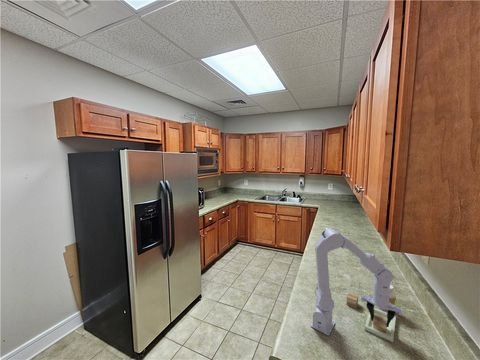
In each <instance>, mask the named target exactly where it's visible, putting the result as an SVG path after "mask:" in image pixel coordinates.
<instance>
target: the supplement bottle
mask: <svg viewBox="0 0 480 360" xmlns="http://www.w3.org/2000/svg"><path fill="white" fill-rule="evenodd" d="M396 296H397V295H396V293H395V291H394V286H393V285H392V284H390V293H389V303H391V304H393V305H395V306H396V299H397V297H396ZM378 310H381V311H383V312H386V313H387V312H388V310H386V309H382V308H379V307H378Z"/></svg>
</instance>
